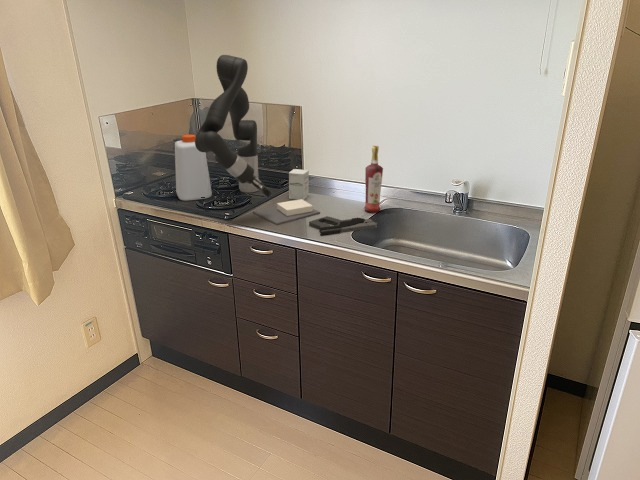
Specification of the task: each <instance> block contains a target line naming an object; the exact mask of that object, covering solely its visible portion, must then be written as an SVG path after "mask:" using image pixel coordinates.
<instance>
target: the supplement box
mask: <svg viewBox="0 0 640 480" xmlns="http://www.w3.org/2000/svg"><path fill="white" fill-rule="evenodd" d="M309 171H310V170H309V169H300V168H299V169H297V168H293V169H292V170H291V171H289V172H288V198H289V200H300V199H303V200H304V201H306V199H307V198H308V197H309V185H310V183H309V179H310V177H309V176H310V175H309V174H310V173H309Z"/></svg>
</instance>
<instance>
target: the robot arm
mask: <svg viewBox="0 0 640 480" xmlns="http://www.w3.org/2000/svg"><path fill="white" fill-rule="evenodd" d="M248 69H249V66H248V62H247V60H246V59H245V58H242V57H239V56H238V57H237V56H233V55H230V54H222V55H220V56H219V57H218V59H217V60H216V74H217V77H218V80H219V82H220V84H221V87H222V90H223V92H222V93H221V94H220V95H218V96H217V97H216V98H215V99H213V101H212V102H211V104H210V106H209V108H208V111H207V114H206V118H205V120H204V121H203V123H202V125H201V126H200V128H199V129H198V131H197V133H196V134H195V136H196V138H195V146H196V148H197V150H199V151H200V152H206V153H208V152H212V153H213V154H214V155H215V156H214V158H215V159H214V160H215V161H216V162H217V163H218V164H219V165H220V166H221V167H222V168H223V169H225V170H226V172H227V173H229V174H230V175H231V176H232V177H233V178H234V179H236V180H237V182H238V188H239V192H242V193H255V192H258V191H259V192H260V193H262V194H263V195H264V196H266V197H267V198H269V197H270V196H271V195H272V192H271V190H269V189H267V186H266V185H265V184H264V183H263V182H262V181H261V180H260V178H259V162H258V161H259V160H258V158H259V157H258V125H257V122H256V120H254V119H252V120H251V119H249V120H248V119H243V118H244V117H245V116H246V115H247V114H248V112H249V109H250V101H249V97H248V94H247V91H246V90H245V89H244V88H243V87H242V86H243V84H244V82H245V80H246V78H247V75H248ZM228 114H229V116H230V120H231V126H232V133H233V137H234V139H235V140H236V141H240V142H241V141H242V142H243V141H247V142H248V141H249V143H248V144H246V145H243V146H241V147H239V148H238V149H237V153H235V151H233V150H232V149H231V148H230V147H229V146H228V144H227V143H226V141H225V140H224V138H223V136H221V135H220V134H219V132H220V131H221V130H222V129H223V128H224V127H225V123H226V120H227V117H228Z"/></svg>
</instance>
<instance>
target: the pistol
mask: <svg viewBox="0 0 640 480" xmlns="http://www.w3.org/2000/svg"><path fill="white" fill-rule="evenodd" d="M308 227H310V228H314V229H316V230H318V232H319V237H324V236H333V235H340V234H341V233H348V232H357V231H365V230H370V229H371V230H373V229H378V227H379V223H378V222H377V221H376V222H375V221H373V219H371V218H361V217H354V218H353V217H352V218H350V219H348V218H347V219H342V220H341V219H339V218H335V217H332V216H327V215H326V216H323V217H320V218H317V219H314V220H310V221H309V222H308Z"/></svg>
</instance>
